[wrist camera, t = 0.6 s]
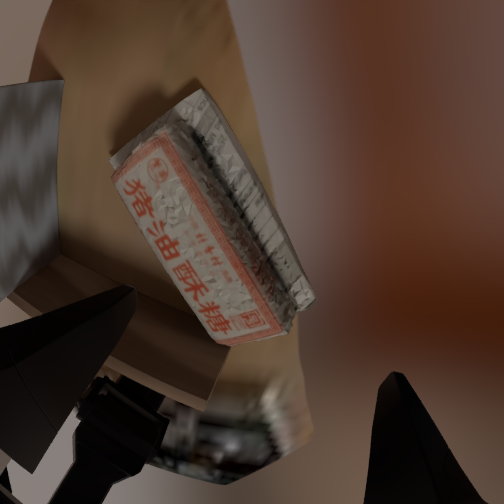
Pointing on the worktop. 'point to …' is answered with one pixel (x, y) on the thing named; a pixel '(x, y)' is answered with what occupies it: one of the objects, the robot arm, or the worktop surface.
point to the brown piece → (74, 274)
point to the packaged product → (212, 223)
